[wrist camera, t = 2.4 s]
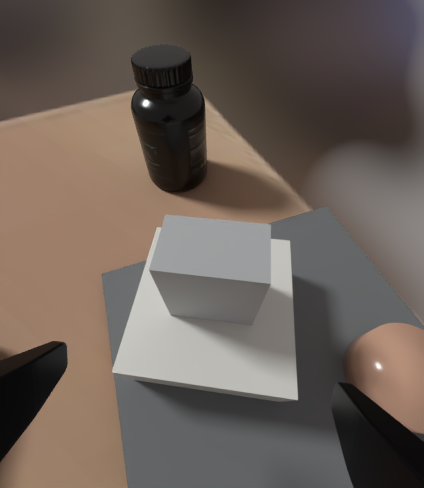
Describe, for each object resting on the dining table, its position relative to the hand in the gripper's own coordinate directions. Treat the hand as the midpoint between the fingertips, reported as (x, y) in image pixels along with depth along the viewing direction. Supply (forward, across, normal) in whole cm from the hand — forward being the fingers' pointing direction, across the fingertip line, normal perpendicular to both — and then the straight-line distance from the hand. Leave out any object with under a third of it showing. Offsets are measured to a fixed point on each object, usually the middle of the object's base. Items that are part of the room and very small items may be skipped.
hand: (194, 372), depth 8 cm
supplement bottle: (+24, +6, -7) cm, 26 cm away
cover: (+11, 0, +4) cm, 12 cm away
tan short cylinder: (+9, -12, +6) cm, 17 cm away
